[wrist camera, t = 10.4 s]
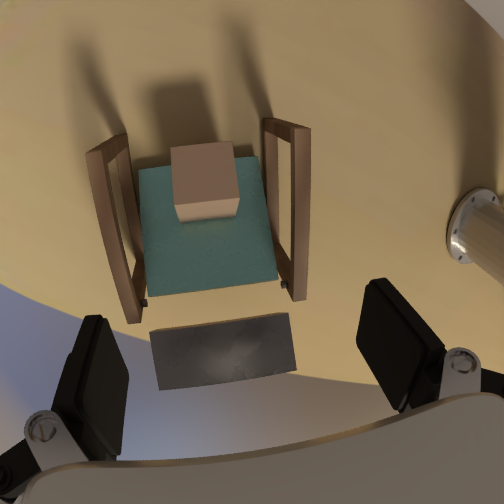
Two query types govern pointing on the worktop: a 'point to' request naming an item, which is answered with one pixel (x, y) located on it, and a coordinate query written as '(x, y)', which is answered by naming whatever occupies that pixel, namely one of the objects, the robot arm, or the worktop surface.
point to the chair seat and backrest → (212, 283)
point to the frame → (289, 271)
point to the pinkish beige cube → (204, 181)
